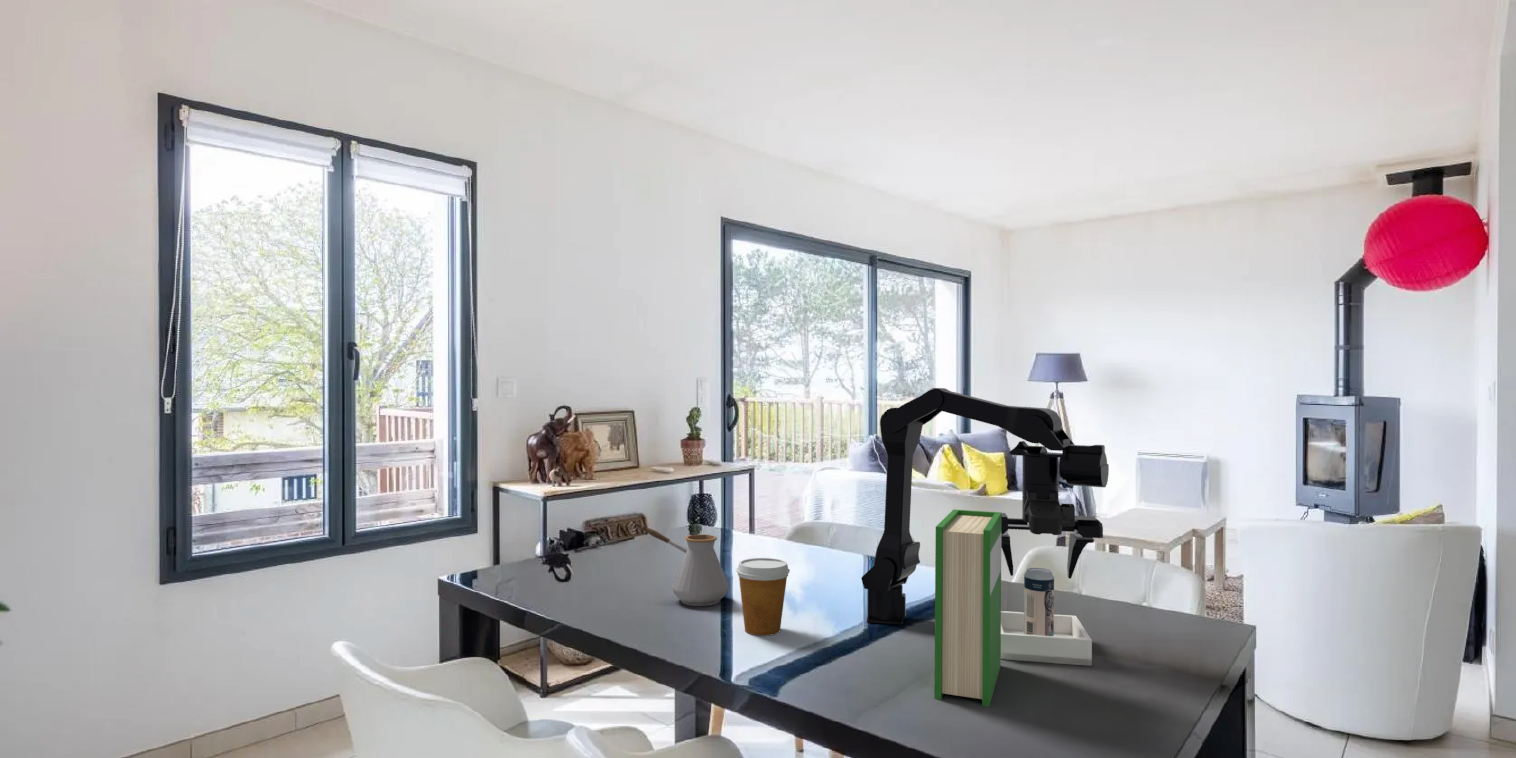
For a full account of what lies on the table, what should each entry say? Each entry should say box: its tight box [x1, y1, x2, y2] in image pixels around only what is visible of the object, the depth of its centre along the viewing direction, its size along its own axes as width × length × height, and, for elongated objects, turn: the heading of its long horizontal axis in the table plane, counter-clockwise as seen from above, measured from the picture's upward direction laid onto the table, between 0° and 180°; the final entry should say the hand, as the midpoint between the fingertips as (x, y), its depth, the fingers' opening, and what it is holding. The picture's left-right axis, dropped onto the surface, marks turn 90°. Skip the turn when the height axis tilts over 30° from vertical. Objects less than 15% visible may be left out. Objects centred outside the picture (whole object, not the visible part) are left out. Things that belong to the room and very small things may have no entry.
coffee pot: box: [630, 521, 730, 607], centre depth 165 cm, size 21×12×15 cm, turn 70°
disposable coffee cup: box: [735, 557, 791, 636], centre depth 144 cm, size 10×10×12 cm
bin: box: [1001, 610, 1093, 667], centre depth 135 cm, size 14×14×4 cm
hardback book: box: [933, 508, 1003, 708], centre depth 120 cm, size 18×7×24 cm, turn 158°
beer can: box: [1023, 567, 1055, 636], centre depth 135 cm, size 5×5×12 cm
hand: (1040, 576), depth 135 cm, fingers open, 9 cm apart
